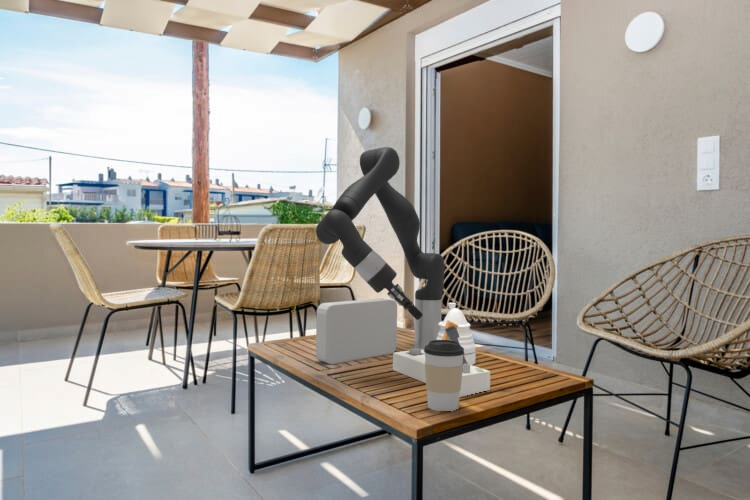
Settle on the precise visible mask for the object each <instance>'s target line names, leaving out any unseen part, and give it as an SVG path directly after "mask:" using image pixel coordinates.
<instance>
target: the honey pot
mask: <svg viewBox="0 0 750 500" xmlns="http://www.w3.org/2000/svg"><path fill="white" fill-rule="evenodd" d="M447 306H448V309H450V310H449V311H448V312H447V314H446V315H445V317H444V319H443V320H441V321H442V322H439V324H438V325H439V326H440V327H441V328H440V331H439V333H438V337H437V339H436V340H442V338H443V336H444V334H445V325H446V323H447V321H448V320H449V321H451V322H453V323H456V324H457V325H458V328H457V331H458V334H459V338H457V339H458V341H459V344H460V346H462V347H463V348H464V357H465V359H466V362H467V363H468V364H470V365H472V366H474V365H475V364H476V355H477V353H476V348H477V347H476V344H475V341H474V337H473V334H472V331H471V328H470V327H471V324H470V322H468V320H467V318H466V316H465V314H464V313H463V312H462V311H461V310H460V309H459V308H458V307H456V306H457V303H455V302H448V303H447ZM451 341H452V340H451Z"/></svg>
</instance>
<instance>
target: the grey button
mask: <svg viewBox="0 0 750 500" xmlns="http://www.w3.org/2000/svg"><path fill="white" fill-rule="evenodd" d="M408 351H409V355H412V356H417V355H421V349H419V348H414V347H413V348H409V349H408Z"/></svg>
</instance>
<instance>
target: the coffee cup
mask: <svg viewBox="0 0 750 500" xmlns="http://www.w3.org/2000/svg"><path fill="white" fill-rule="evenodd" d="M424 348H425V350H424V352H425V376H426V383H425V389H426V392H427V393H426V396H427V407H428V409H430V410H432V411H435V412H440V411H451V412H454V410H455V411H457V410H459V408H460V407H459V406H460V398H461V397H460V390H461V381H462V370H463V354H464V348H463V347H462V346H460V344H459V342H456V341H451V340H433V341H430V342H429V344H428V345H426V346H425V347H424ZM456 409H457V410H456Z"/></svg>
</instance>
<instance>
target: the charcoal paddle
mask: <svg viewBox="0 0 750 500" xmlns="http://www.w3.org/2000/svg"><path fill="white" fill-rule="evenodd" d="M445 331H446V334H447V336H448V338H449V339H450V340H452V341H456V342H459V341H458V339H457V338H459V334H458V331H457V329H456V328H455V327H454V326H452V327H449V328H446V329H445ZM463 364H468V363H467V362H466V359H465V357H464V354H463Z"/></svg>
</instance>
